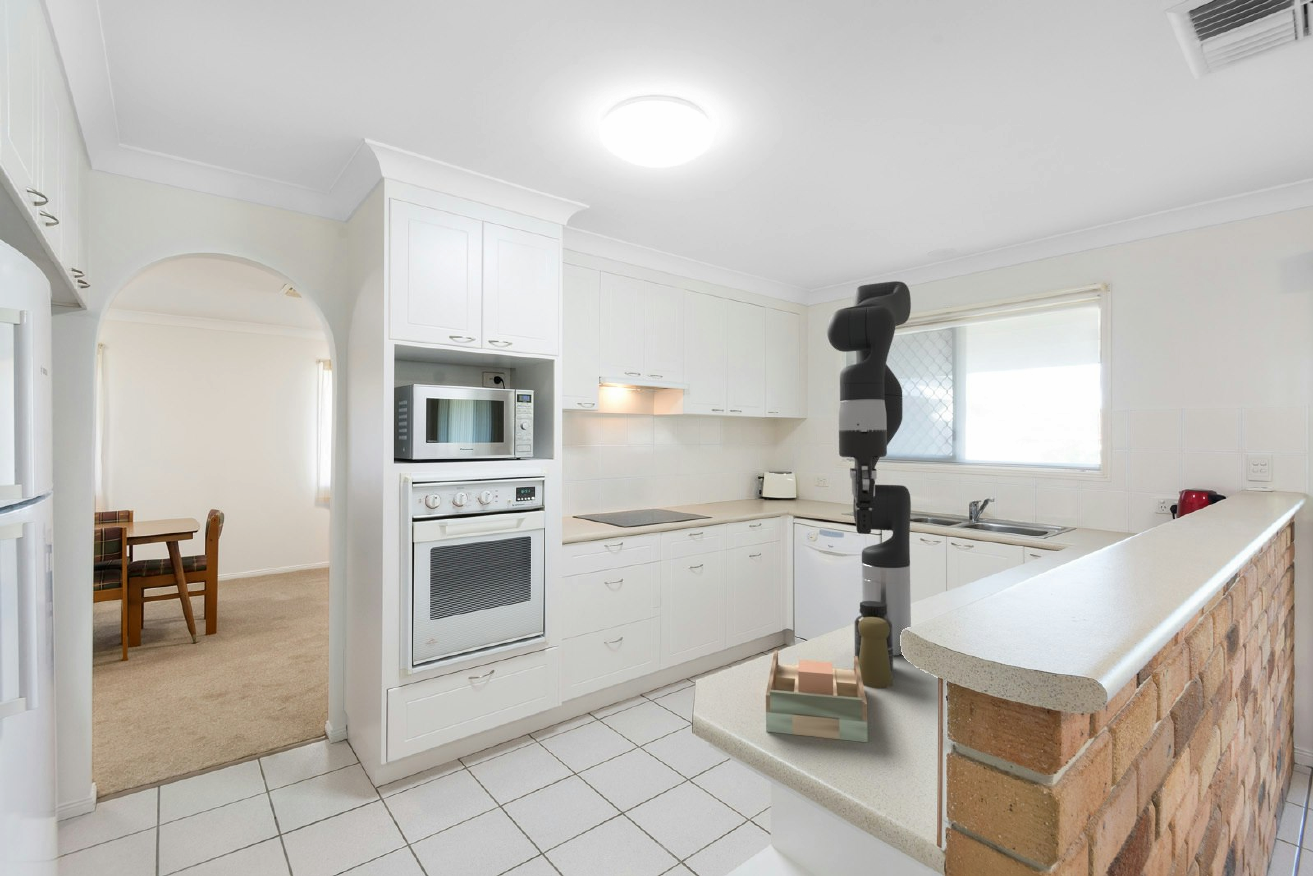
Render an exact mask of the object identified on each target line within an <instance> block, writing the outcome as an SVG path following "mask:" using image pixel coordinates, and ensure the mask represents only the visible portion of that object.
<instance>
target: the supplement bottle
mask: <svg viewBox="0 0 1313 876" xmlns="http://www.w3.org/2000/svg"><path fill="white" fill-rule="evenodd" d="M858 611H859V614H860V615H859V616H857V617H856V618H855V619H854V626H853V628H854V629H853V630H854V634H853V635H854V656H858V661H859V654H860V646H861V638H862V636H861V635H860V633H859V629H858V624H859V622H860V620H861V619H862V618H865V617H877V618H881V619H884V620H885V621H887V623H888V625H889V628H890V632H889V636H888V637H887V638H886V641H887V648H888V654H889V661H890V668H891V672H892V671H893V669H894V655H893V624H892V622H891V621H890V620H889V619H888V618H887V617H886V616H887V615H888V612H887V604H885V603H882V602H877V601H861V602H859V610H858Z"/></svg>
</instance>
